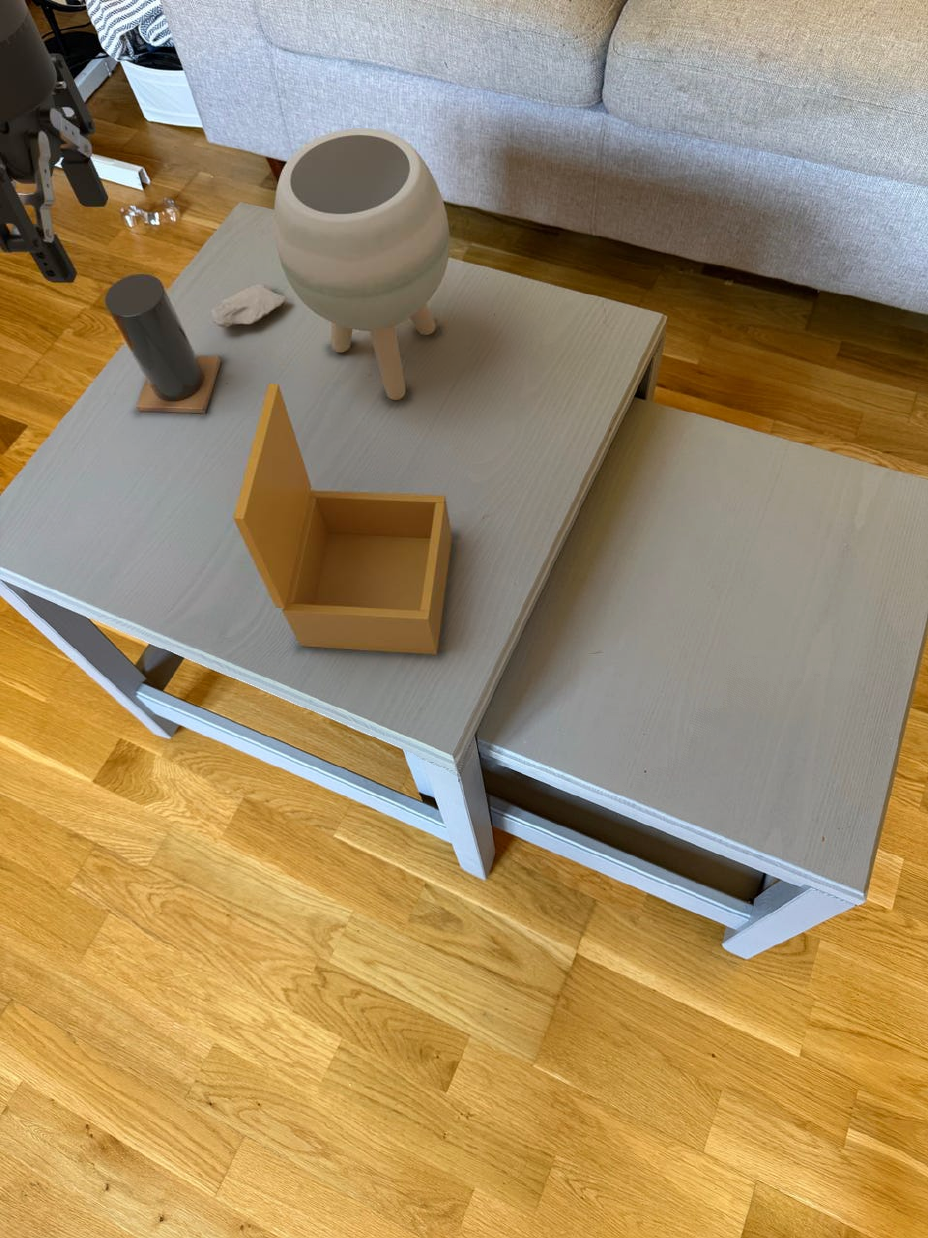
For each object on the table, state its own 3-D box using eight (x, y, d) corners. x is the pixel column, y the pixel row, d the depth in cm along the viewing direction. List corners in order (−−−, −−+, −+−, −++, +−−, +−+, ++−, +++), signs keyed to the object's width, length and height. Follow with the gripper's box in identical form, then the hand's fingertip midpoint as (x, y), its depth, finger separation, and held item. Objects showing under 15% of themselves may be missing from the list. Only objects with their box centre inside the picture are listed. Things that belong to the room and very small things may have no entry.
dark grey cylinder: (145, 400, 97) (97, 315, 86) (159, 360, 100) (114, 272, 89) (197, 402, 96) (154, 316, 86) (209, 361, 99) (170, 273, 88)
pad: (138, 411, 98) (135, 406, 97) (156, 359, 101) (154, 354, 100) (205, 413, 97) (202, 408, 96) (221, 360, 100) (219, 355, 99)
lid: (278, 383, 70) (268, 382, 70) (243, 518, 64) (232, 518, 64) (312, 486, 82) (303, 486, 82) (285, 608, 76) (275, 608, 76)
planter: (409, 436, 93) (373, 259, 73) (286, 381, 98) (221, 201, 78) (490, 333, 99) (476, 143, 79) (369, 286, 104) (328, 96, 84)
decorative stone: (228, 347, 101) (219, 327, 98) (206, 317, 103) (197, 297, 101) (295, 312, 103) (288, 292, 100) (272, 284, 105) (265, 263, 102)
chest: (452, 536, 87) (445, 495, 81) (436, 654, 81) (428, 619, 75) (324, 530, 88) (308, 489, 82) (300, 646, 83) (281, 611, 77)
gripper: (-52, -43, 59) (62, 181, 73) (-140, 87, 52) (4, 306, 67) (57, -46, 58) (150, 180, 73) (-19, 85, 52) (101, 307, 66)
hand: (80, 240), depth 70 cm, fingers open, 8 cm apart
